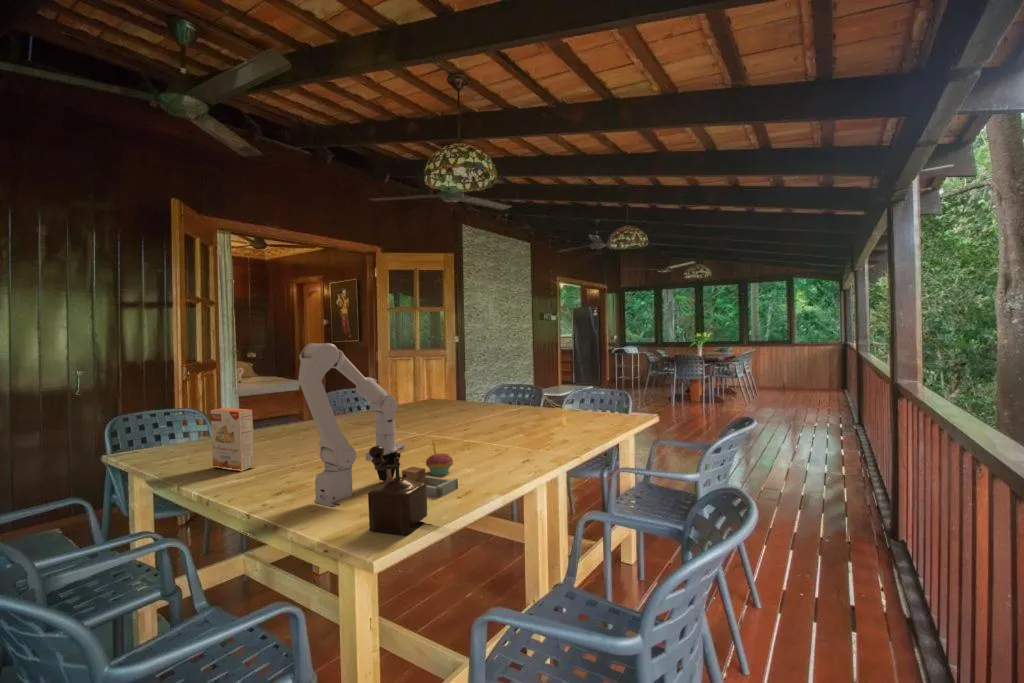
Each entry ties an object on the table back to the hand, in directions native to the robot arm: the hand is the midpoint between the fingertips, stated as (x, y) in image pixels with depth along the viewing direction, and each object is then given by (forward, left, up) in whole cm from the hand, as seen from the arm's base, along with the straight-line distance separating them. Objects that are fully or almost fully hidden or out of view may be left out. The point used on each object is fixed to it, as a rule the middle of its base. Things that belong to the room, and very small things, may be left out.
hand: (386, 478), depth 150 cm
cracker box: (-9, +63, -2) cm, 64 cm away
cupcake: (+15, -9, -2) cm, 17 cm away
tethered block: (0, -6, -1) cm, 6 cm away
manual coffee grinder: (-22, -23, -2) cm, 32 cm away
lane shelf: (0, -15, -2) cm, 15 cm away
